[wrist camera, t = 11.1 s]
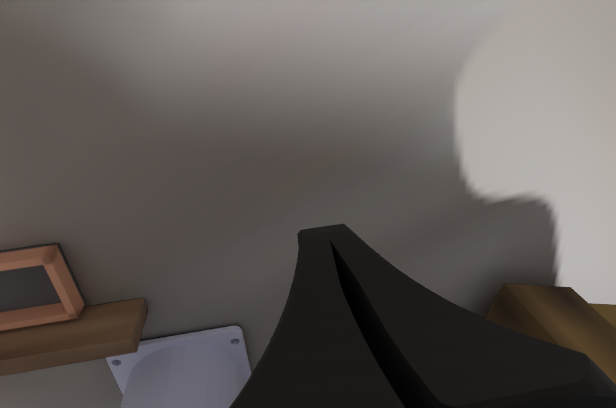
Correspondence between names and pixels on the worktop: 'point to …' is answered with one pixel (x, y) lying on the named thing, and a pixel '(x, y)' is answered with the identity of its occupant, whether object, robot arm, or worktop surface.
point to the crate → (560, 320)
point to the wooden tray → (74, 338)
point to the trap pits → (37, 287)
